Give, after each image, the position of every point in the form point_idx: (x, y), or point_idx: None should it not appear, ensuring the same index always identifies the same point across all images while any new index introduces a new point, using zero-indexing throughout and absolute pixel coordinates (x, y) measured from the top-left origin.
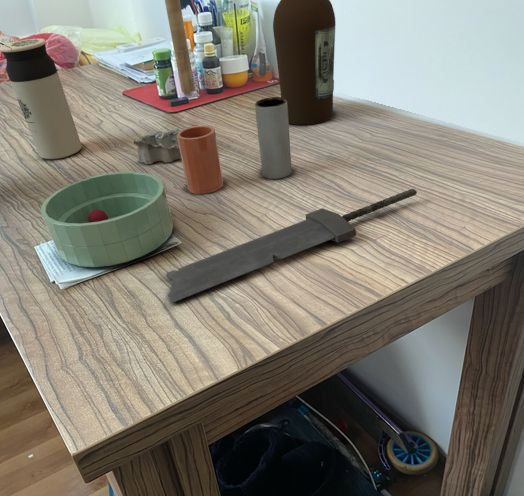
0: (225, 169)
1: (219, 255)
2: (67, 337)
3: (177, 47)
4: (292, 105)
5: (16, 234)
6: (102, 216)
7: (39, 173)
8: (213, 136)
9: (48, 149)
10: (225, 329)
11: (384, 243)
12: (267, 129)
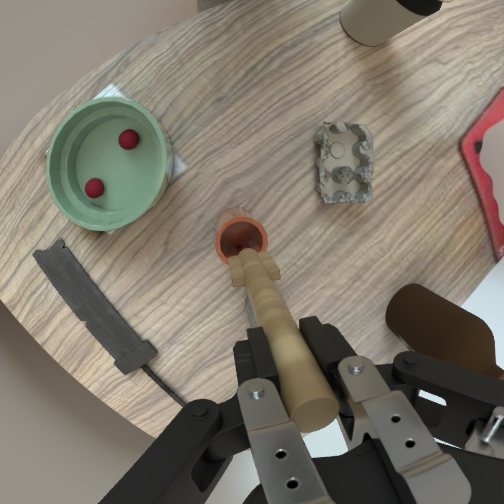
0: (282, 242)
1: (82, 279)
2: (4, 190)
3: (244, 278)
4: (402, 306)
5: (140, 50)
6: (123, 147)
7: (302, 13)
8: None
9: (344, 14)
10: (24, 293)
11: (126, 384)
12: (252, 325)
